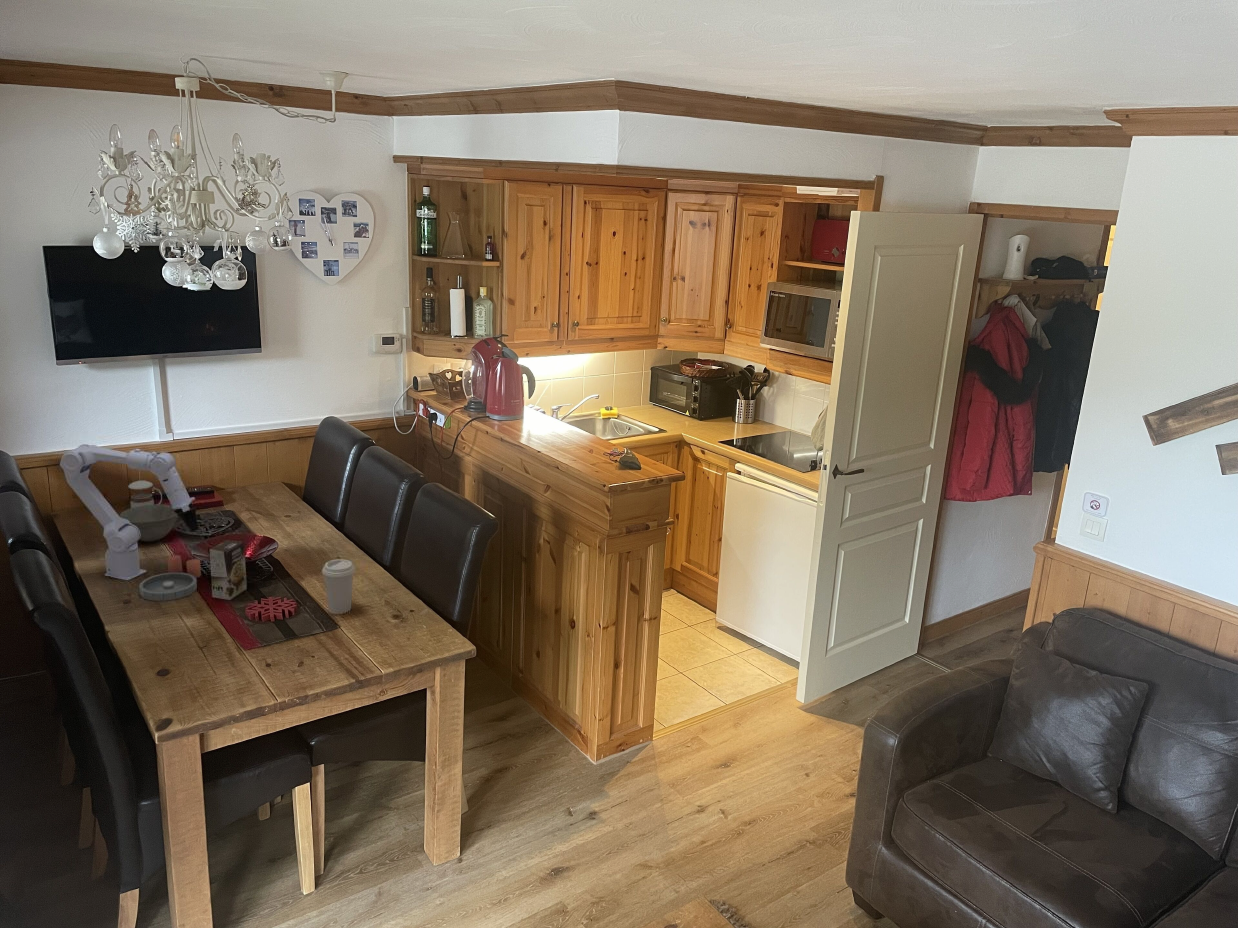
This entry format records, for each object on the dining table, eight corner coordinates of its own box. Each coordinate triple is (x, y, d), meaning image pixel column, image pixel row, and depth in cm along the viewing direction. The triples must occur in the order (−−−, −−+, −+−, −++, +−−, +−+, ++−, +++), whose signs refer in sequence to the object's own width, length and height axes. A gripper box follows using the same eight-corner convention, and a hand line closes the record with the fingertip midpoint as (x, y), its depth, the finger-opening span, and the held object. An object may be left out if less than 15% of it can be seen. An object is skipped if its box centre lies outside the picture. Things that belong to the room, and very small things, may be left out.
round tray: (127, 595, 281) (127, 587, 280) (167, 576, 295) (166, 569, 295) (170, 604, 276) (169, 597, 276) (208, 585, 291) (207, 577, 290)
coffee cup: (346, 600, 286) (345, 555, 282) (361, 610, 280) (360, 565, 276) (317, 608, 280) (316, 562, 276) (332, 619, 273) (331, 573, 269)
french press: (129, 516, 343) (123, 453, 336) (164, 514, 348) (158, 451, 341) (128, 525, 335) (122, 460, 328) (163, 522, 340) (158, 458, 333)
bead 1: (165, 572, 298) (164, 558, 297) (175, 568, 302) (173, 554, 300) (175, 574, 297) (174, 560, 295) (184, 570, 300) (183, 556, 299)
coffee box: (230, 600, 282) (227, 551, 277) (211, 597, 283) (208, 549, 278) (247, 588, 290) (245, 541, 286) (229, 586, 291) (226, 538, 287)
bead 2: (184, 576, 296) (183, 562, 294) (193, 572, 300) (192, 558, 298) (194, 578, 295) (193, 564, 293) (203, 574, 298) (202, 560, 297)
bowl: (186, 543, 322) (184, 516, 319) (126, 552, 312) (123, 524, 309) (176, 526, 337) (174, 501, 334) (118, 534, 326) (116, 508, 324)
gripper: (190, 487, 283) (209, 526, 287) (185, 482, 295) (203, 519, 299) (167, 496, 280) (187, 536, 284) (162, 491, 292) (181, 529, 296)
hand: (193, 528), depth 291 cm, fingers open, 7 cm apart
